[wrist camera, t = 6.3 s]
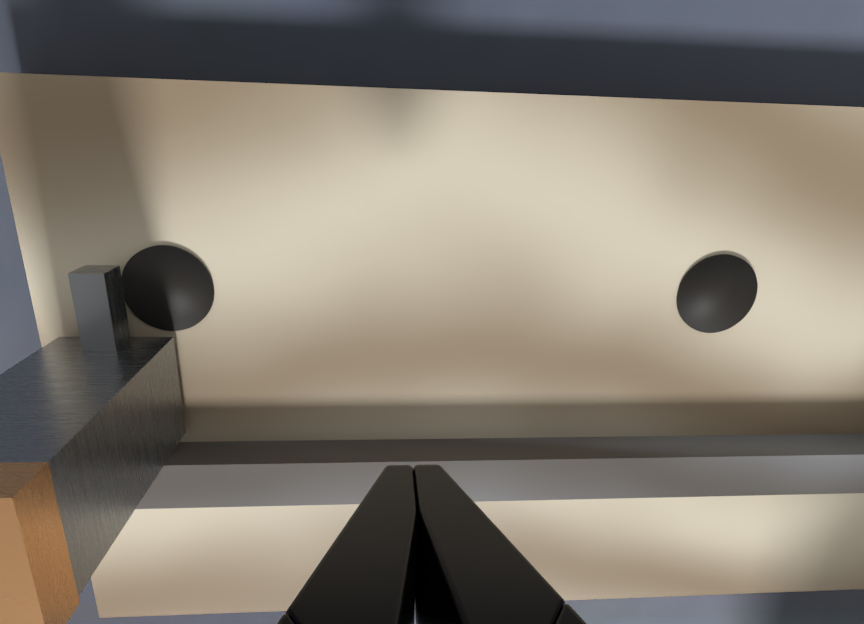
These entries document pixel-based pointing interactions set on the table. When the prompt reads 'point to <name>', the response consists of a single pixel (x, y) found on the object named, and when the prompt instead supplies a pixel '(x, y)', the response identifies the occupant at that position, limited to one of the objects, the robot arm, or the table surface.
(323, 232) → the board
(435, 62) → the table surface
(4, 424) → the slider
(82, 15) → the table surface
